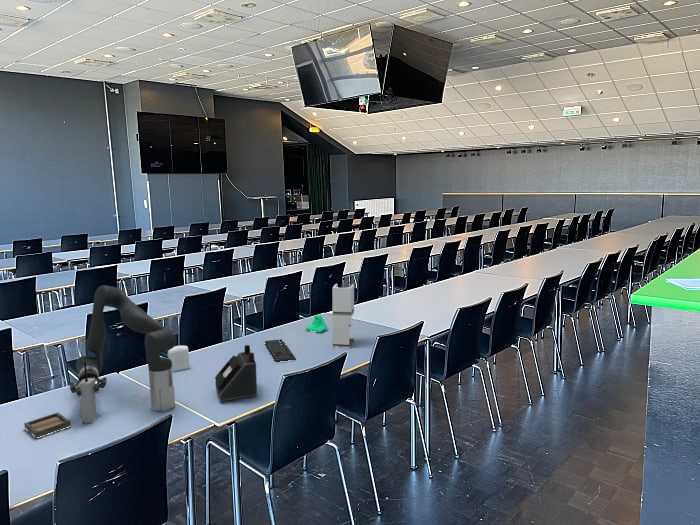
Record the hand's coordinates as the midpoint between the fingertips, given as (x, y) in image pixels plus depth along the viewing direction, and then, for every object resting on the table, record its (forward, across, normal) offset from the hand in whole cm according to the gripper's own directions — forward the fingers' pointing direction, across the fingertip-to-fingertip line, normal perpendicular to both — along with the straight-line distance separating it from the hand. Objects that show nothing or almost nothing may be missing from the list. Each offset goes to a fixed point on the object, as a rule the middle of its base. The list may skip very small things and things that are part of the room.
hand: (87, 391), depth 197 cm
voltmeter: (-2, +58, +13) cm, 60 cm away
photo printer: (-44, +39, +13) cm, 61 cm away
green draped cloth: (-75, +127, +14) cm, 148 cm away
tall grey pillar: (-43, +131, +13) cm, 138 cm away
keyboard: (-48, +94, +14) cm, 106 cm away
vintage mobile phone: (-3, 0, +13) cm, 13 cm away
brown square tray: (-3, -15, +13) cm, 20 cm away
